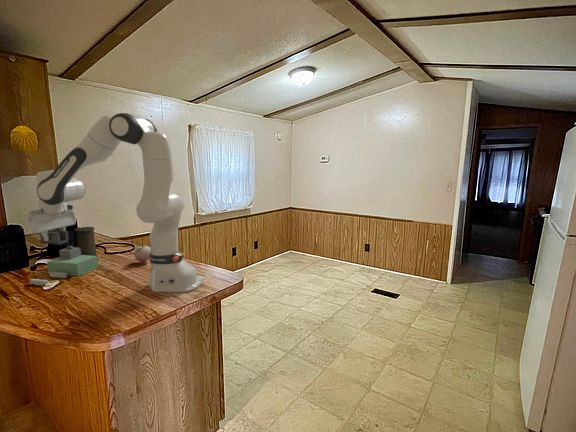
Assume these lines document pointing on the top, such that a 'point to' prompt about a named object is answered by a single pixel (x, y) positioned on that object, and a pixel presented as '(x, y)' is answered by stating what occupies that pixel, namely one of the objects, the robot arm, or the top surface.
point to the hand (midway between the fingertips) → (54, 238)
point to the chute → (56, 237)
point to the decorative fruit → (142, 253)
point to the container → (86, 241)
